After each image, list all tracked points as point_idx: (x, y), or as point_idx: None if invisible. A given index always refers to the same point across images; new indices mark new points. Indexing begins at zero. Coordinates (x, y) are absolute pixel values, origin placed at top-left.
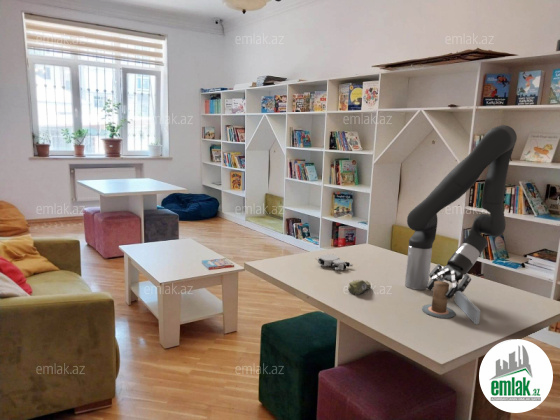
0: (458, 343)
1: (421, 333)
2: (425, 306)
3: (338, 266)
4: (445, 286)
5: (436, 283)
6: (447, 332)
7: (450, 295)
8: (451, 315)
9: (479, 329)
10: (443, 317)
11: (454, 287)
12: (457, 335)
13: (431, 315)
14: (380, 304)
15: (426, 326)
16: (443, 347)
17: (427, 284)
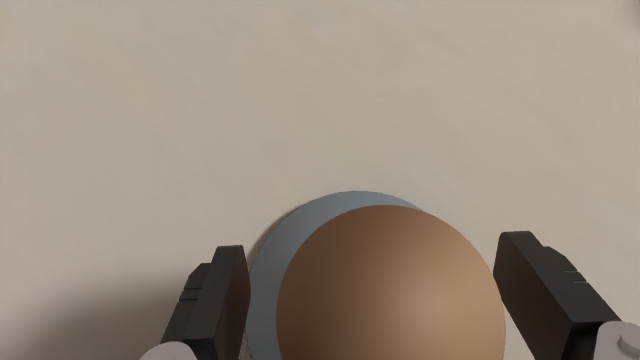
0: (8, 93)
1: (173, 4)
2: None
3: None
4: (282, 288)
5: (406, 228)
6: (114, 129)
7: (192, 277)
8: (253, 328)
9: (32, 356)
10: (260, 252)
11: (151, 350)
12: (62, 153)
13: (318, 200)
14: (567, 23)
15: (219, 75)
16: (27, 5)
17: (567, 260)
